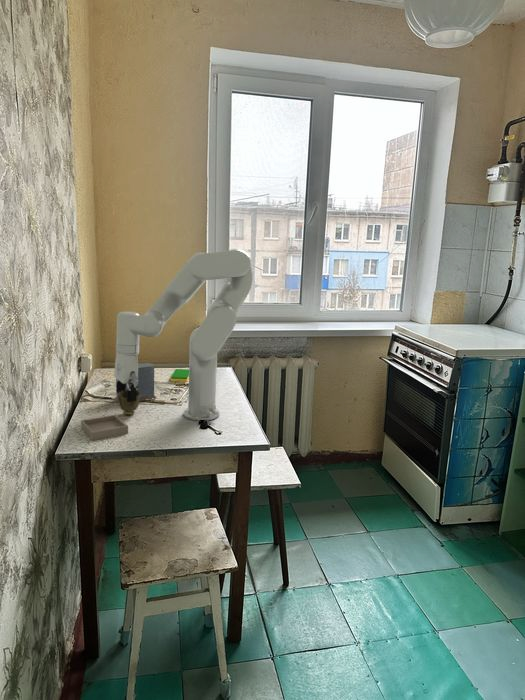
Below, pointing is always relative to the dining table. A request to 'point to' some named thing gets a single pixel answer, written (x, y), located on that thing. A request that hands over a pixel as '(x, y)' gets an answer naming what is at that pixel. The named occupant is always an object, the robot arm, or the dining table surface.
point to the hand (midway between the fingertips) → (126, 396)
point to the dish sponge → (180, 375)
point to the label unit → (144, 382)
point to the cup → (128, 403)
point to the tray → (104, 427)
